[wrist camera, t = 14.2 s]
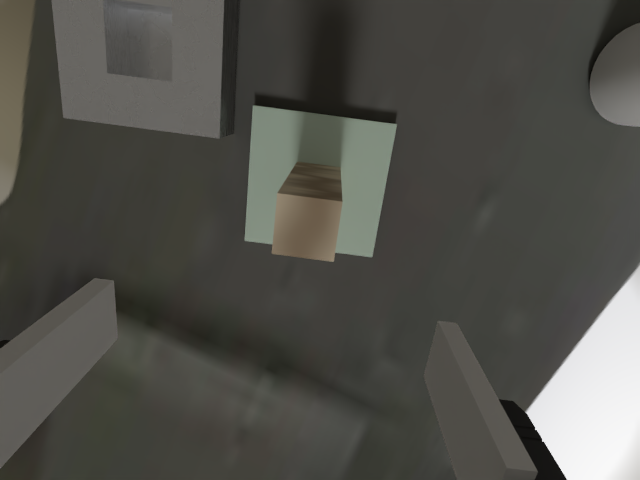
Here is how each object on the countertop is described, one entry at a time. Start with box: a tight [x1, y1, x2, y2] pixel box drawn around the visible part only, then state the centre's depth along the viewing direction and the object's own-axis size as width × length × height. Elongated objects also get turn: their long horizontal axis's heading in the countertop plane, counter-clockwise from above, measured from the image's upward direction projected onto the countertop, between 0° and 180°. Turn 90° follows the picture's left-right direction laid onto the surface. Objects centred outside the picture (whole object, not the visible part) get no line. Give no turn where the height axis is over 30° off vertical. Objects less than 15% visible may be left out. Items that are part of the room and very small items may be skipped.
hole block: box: [52, 0, 240, 138], centre depth 34 cm, size 14×14×5 cm
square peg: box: [272, 162, 343, 262], centre depth 33 cm, size 4×4×14 cm
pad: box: [245, 105, 397, 257], centre depth 40 cm, size 14×14×1 cm
